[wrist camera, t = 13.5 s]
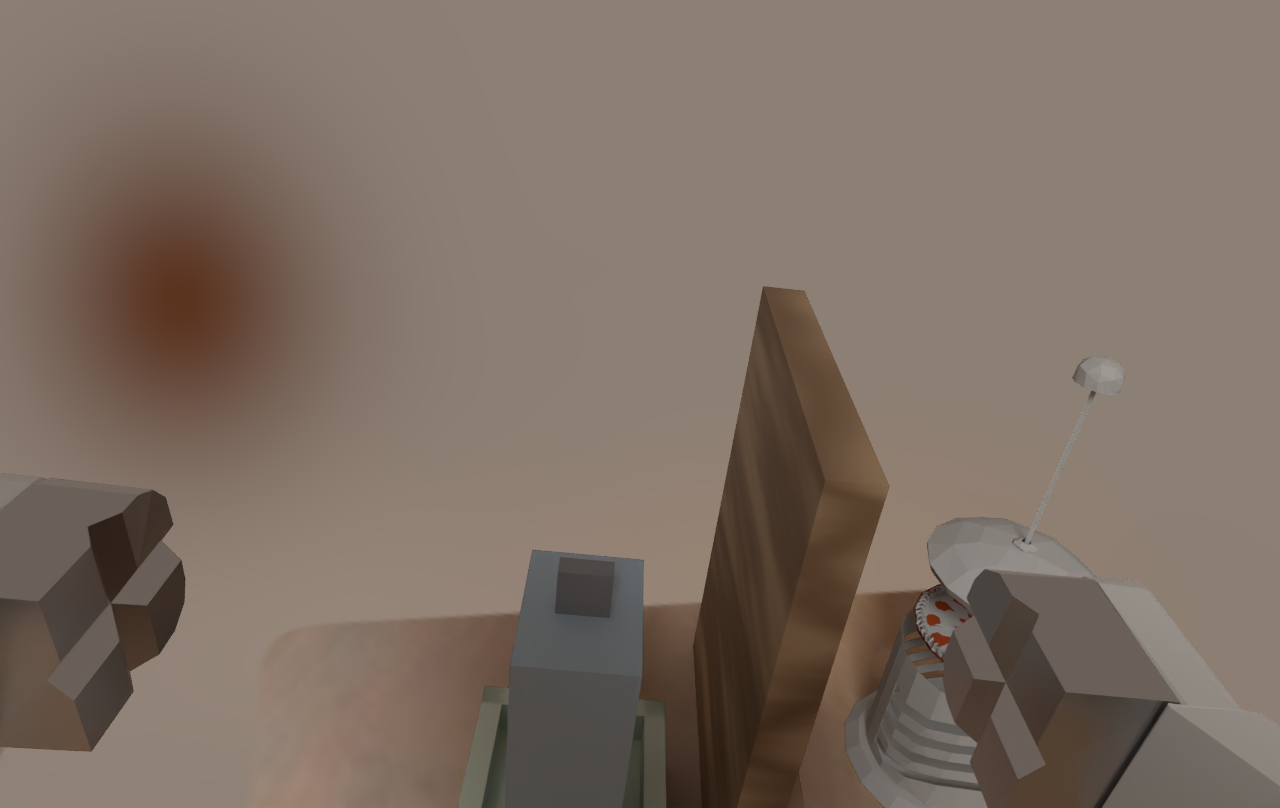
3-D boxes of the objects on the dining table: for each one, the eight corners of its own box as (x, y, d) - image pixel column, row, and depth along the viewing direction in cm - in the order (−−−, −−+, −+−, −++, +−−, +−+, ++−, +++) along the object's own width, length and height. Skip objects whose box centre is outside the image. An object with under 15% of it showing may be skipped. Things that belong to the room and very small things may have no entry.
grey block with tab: (501, 884, 34) (511, 622, 26) (521, 758, 39) (534, 510, 32) (608, 892, 34) (648, 634, 27) (614, 765, 39) (649, 520, 32)
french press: (858, 664, 51) (984, 292, 38) (1055, 736, 47) (1263, 355, 35) (829, 793, 43) (977, 374, 30) (1064, 891, 39) (1339, 466, 27)
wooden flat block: (708, 913, 37) (824, 479, 25) (693, 645, 50) (763, 286, 39) (817, 921, 37) (985, 495, 25) (772, 652, 51) (866, 297, 39)
